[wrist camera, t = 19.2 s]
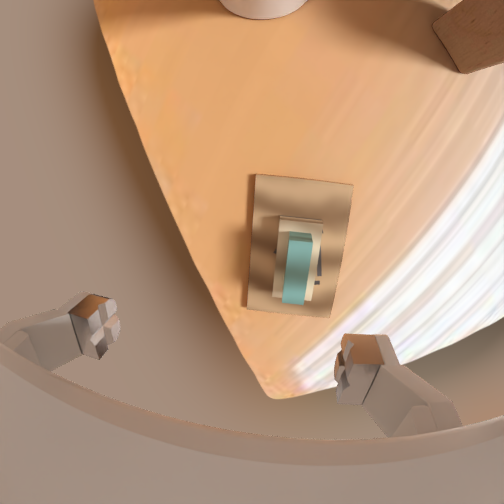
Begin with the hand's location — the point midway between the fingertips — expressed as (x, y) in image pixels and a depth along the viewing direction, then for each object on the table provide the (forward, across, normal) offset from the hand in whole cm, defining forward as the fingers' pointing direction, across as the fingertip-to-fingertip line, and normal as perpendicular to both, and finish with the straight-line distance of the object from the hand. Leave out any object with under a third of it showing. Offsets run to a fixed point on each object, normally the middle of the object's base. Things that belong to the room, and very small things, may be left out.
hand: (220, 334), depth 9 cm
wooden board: (+34, -4, +9) cm, 35 cm away
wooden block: (+34, -30, -31) cm, 55 cm away
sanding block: (+33, -4, +10) cm, 35 cm away
